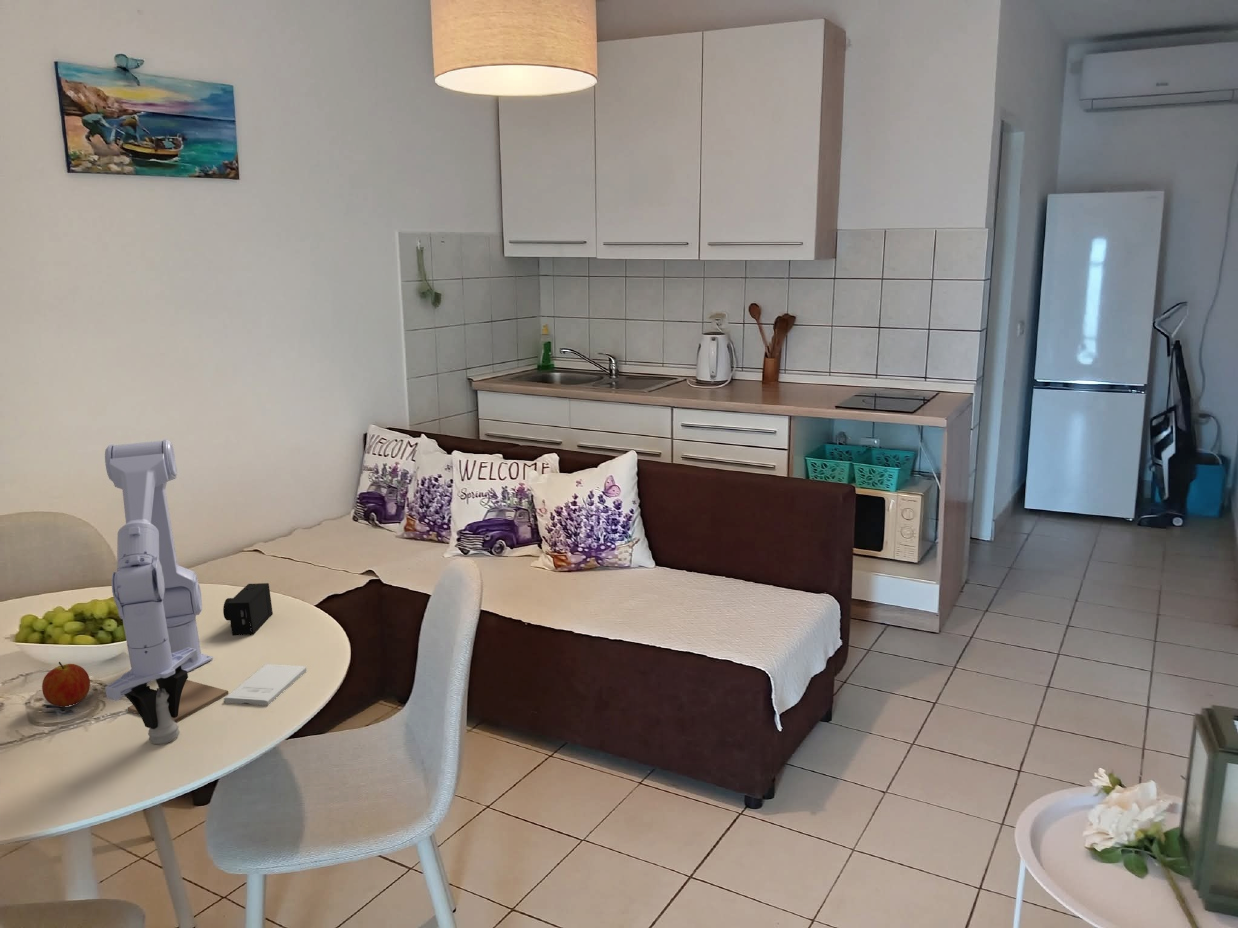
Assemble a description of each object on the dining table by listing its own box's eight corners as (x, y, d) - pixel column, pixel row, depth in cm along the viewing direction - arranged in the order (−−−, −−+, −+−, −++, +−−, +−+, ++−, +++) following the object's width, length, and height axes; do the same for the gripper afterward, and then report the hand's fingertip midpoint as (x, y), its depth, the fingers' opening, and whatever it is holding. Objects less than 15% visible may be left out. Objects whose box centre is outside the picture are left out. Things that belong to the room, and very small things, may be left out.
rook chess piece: (155, 731, 149) (147, 685, 147) (184, 729, 149) (177, 683, 147) (144, 746, 145) (135, 699, 143) (174, 744, 145) (166, 697, 143)
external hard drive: (307, 674, 168) (268, 708, 156) (265, 671, 170) (224, 705, 158) (306, 666, 168) (267, 699, 156) (264, 663, 169) (223, 696, 158)
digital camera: (247, 614, 195) (242, 583, 193) (273, 614, 194) (268, 582, 193) (225, 636, 184) (221, 602, 183) (253, 635, 184) (248, 602, 183)
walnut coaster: (128, 710, 156) (127, 707, 156) (184, 681, 166) (183, 678, 165) (173, 724, 151) (172, 720, 151) (228, 693, 161) (228, 690, 160)
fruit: (89, 690, 164) (81, 648, 162) (97, 704, 159) (88, 661, 157) (43, 703, 160) (34, 660, 158) (49, 719, 154) (40, 674, 152)
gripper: (122, 665, 135) (137, 749, 138) (205, 626, 147) (218, 705, 151) (90, 656, 138) (106, 739, 141) (175, 619, 151) (187, 696, 154)
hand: (161, 721), depth 146 cm, fingers closed on rook chess piece, 3 cm apart
